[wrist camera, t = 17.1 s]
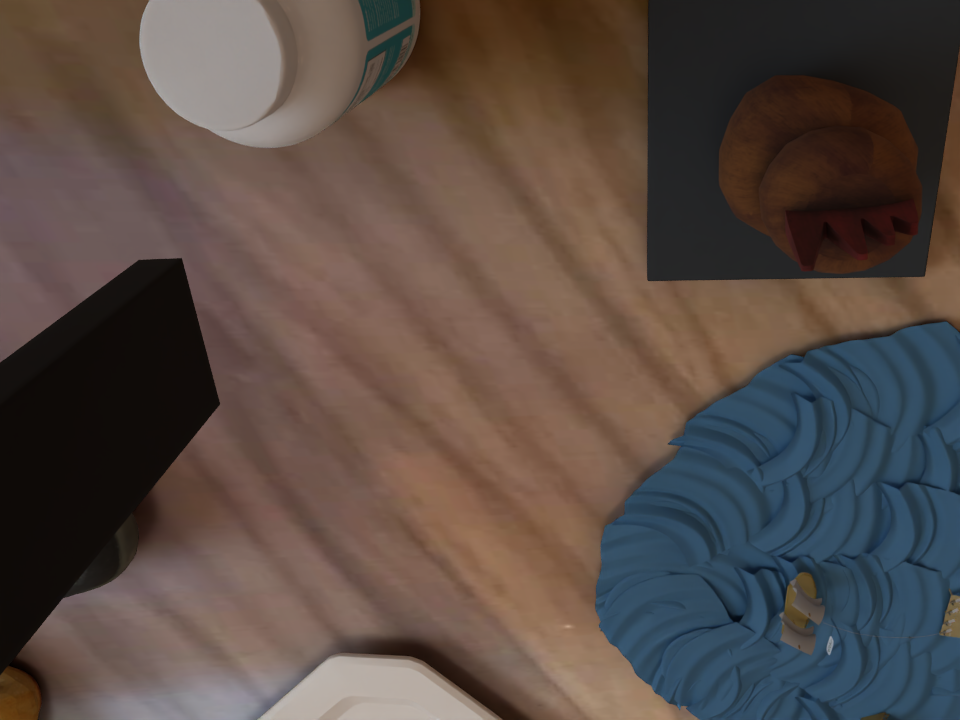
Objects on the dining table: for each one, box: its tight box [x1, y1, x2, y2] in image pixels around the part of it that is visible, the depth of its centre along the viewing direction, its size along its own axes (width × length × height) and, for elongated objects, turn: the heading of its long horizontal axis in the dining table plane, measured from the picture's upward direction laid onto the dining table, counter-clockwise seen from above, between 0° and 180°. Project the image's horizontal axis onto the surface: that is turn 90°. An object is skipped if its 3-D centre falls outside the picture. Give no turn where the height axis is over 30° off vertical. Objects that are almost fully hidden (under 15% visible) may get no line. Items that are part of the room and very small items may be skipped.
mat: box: [647, 0, 960, 281], centre depth 38 cm, size 13×12×1 cm
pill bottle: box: [140, 0, 420, 148], centre depth 33 cm, size 8×7×14 cm
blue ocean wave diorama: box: [595, 321, 960, 720], centre depth 46 cm, size 30×30×5 cm
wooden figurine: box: [719, 75, 922, 274], centre depth 31 cm, size 7×6×15 cm
